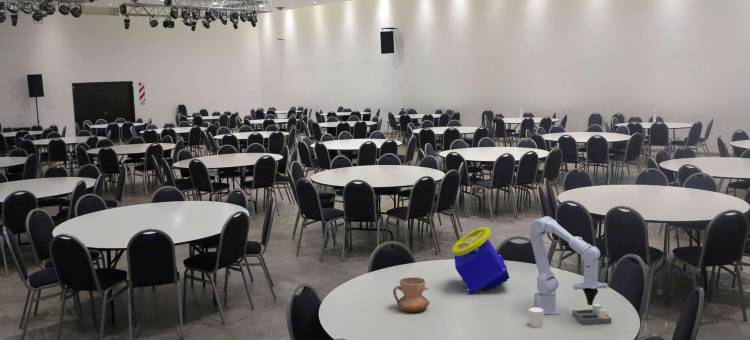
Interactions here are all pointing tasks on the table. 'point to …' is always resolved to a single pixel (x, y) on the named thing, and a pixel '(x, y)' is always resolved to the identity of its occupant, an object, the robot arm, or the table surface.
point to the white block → (595, 307)
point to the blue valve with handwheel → (479, 261)
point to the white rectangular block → (601, 313)
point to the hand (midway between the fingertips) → (589, 304)
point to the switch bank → (590, 317)
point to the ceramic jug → (412, 294)
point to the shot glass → (536, 316)
